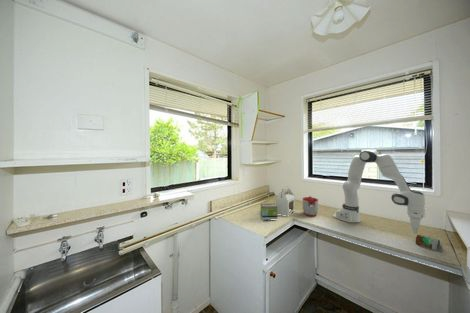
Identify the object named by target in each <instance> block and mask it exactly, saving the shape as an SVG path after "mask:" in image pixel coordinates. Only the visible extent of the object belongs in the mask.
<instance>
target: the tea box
mask: <svg viewBox="0 0 470 313" xmlns="http://www.w3.org/2000/svg"><path fill="white" fill-rule="evenodd" d="M260 218H262V219H261V221H262V220H271V219H277V220H278V215H277V206H276V202H275V203H260Z"/></svg>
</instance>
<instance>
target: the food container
mask: <svg viewBox="0 0 470 313" xmlns="http://www.w3.org/2000/svg"><path fill="white" fill-rule="evenodd" d="M440 243H441V240H440V239H438V238H436V237H430V236H425V235H421V234H417V235H416V238H415V244H416V245H418V246H420V245H421V246H424V247H427V248H430V249H429V250H431V249H432V250H431V251H434V250H436V251H435V252H438V251H437V246H438V245H440ZM427 248H426V249H427Z"/></svg>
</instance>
